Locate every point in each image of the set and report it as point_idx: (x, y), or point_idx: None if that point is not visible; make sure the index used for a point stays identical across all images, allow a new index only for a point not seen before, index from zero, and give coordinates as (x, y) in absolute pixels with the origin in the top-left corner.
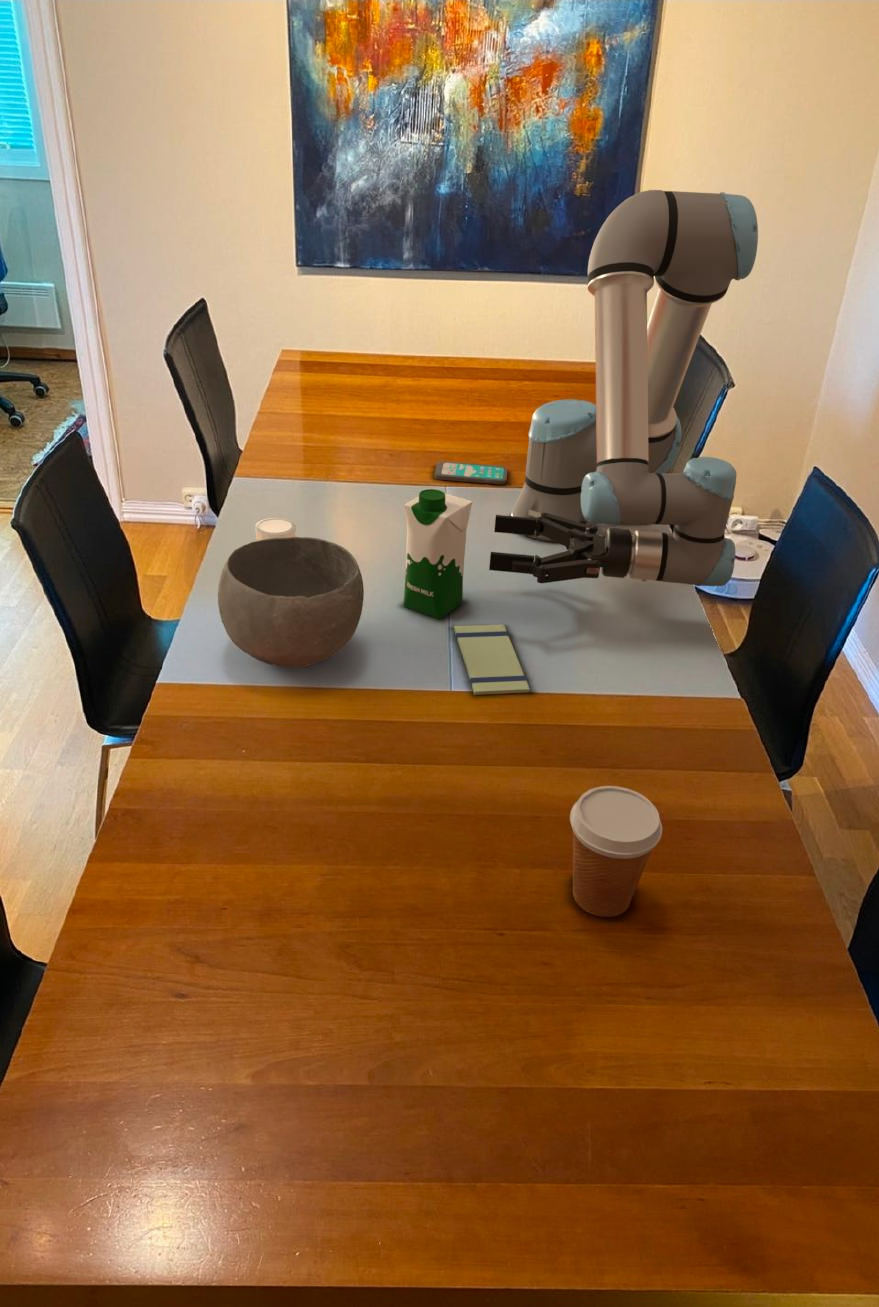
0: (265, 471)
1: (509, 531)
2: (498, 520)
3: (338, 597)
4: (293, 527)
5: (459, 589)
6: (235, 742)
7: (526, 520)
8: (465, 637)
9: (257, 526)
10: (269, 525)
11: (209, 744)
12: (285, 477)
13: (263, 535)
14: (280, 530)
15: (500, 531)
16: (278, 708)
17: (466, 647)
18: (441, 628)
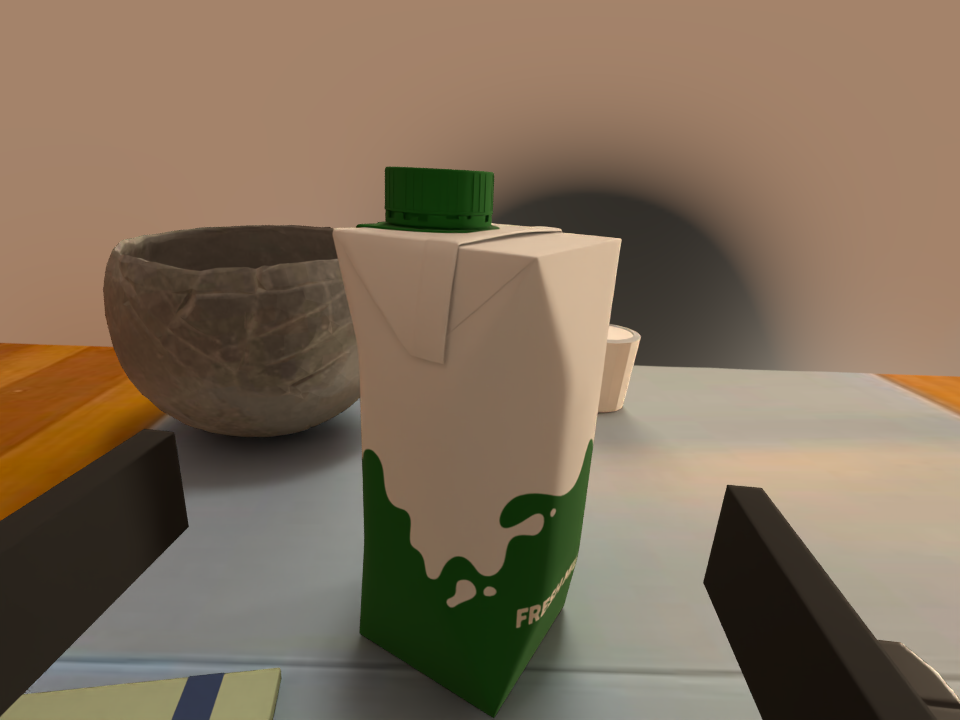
0: (930, 386)
1: (748, 660)
2: (731, 522)
3: (116, 272)
4: (608, 341)
5: (433, 627)
6: (49, 385)
7: (861, 701)
8: (176, 706)
9: None
10: None
11: (68, 373)
12: (941, 401)
13: None
14: None
15: (718, 606)
16: (104, 409)
17: (94, 706)
18: (300, 640)
